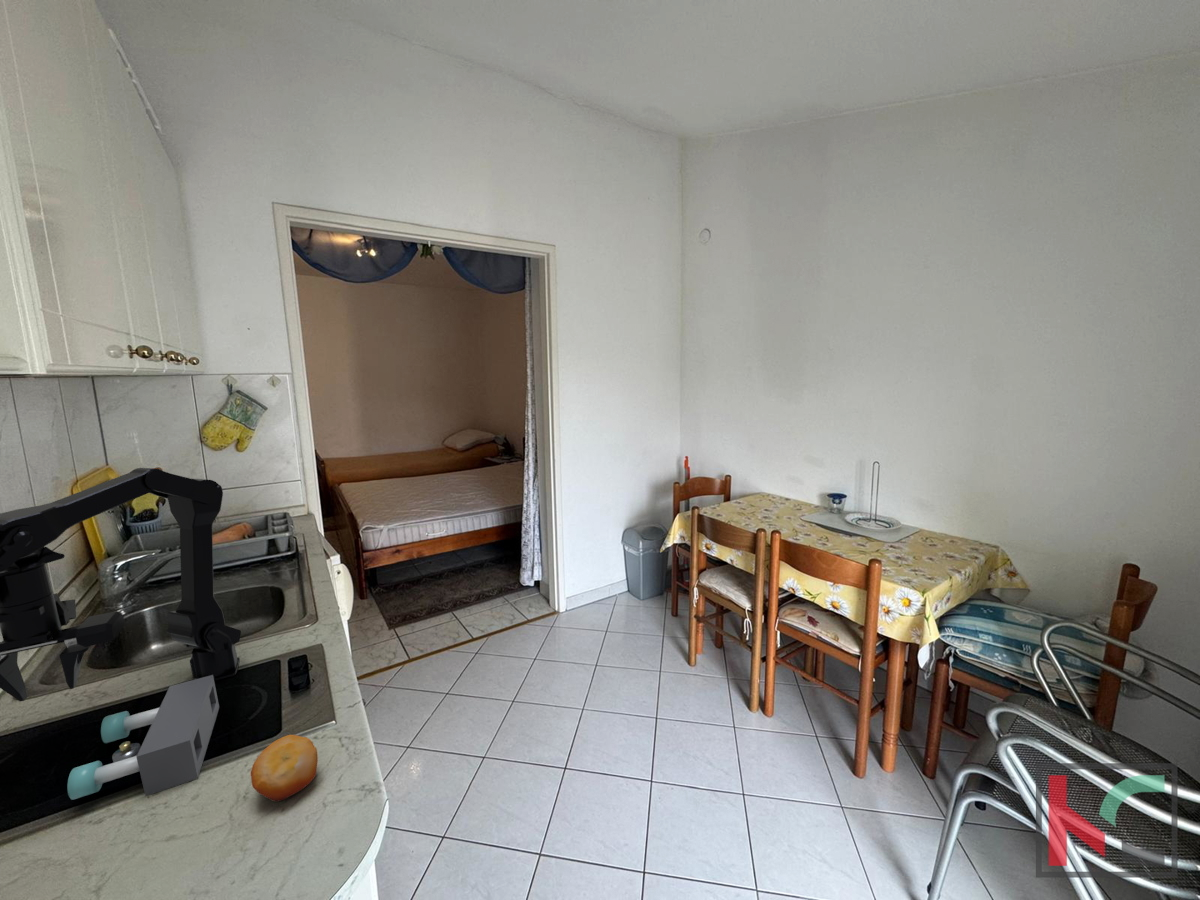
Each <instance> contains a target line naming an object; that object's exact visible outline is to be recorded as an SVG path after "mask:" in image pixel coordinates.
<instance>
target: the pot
mask: <svg viewBox="0 0 1200 900" xmlns="http://www.w3.org/2000/svg"><path fill="white" fill-rule="evenodd" d="M141 746H142V745H141V744H140V743H139V742H135V743H134V742H133V743H131V741H129V740H128V741H127V740H126V741H123V742H122V743H120V745H119V746H118V747H119V748H118V749H117V750H115V752H113V754H112V756H111V757H112V758H111V759H112V761H113V762H112V763H115V762H118V761H121V760H124V759H128V758H131V757H134V756H137V754H138V752H139V750H140V748H141Z"/></svg>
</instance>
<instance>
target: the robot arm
mask: <svg viewBox="0 0 1200 900" xmlns="http://www.w3.org/2000/svg"><path fill="white" fill-rule="evenodd" d="M148 494H150V495H153V496H156V497H160V498H163V499H166V500H167V502H168V505H169V506H168V507H169V510H170V513H171V514H172V516H173V519H175V521H176V522H177V524H178V526H179V540H180V541H179V544H180V545H179V548H180V550H179V552H180V585H181V586H180V590H181V591H180V592H181V594H180V596H181V598H180V603H179V604H178V606H177V608H176V610H172V611H168V612H167V614H166V617H167V622H168V625H167V630H166V632H165V633H167V634H170V637H171V639H172V640H173V641H175V642H177V643H178V644H182V645H183V646H184V647H185V648H188V649H189V648H192V651H191V656H190V659H189V664H190V665H189V666H190V670H191V674H192V675H191V676H192V679H193V680H195V679H199V678H203V677H206V676H210V675H213V677H214V682H215V681H219V680H222V679H226V678H229V677H230V678H231V677H234V676H236V674H237V672H238V667H239V666H240V665H239V663H240V660H241V658H240V657H238V654H237V650H236V645H235V644H237V643H239V642H240V640H241V635H242V631H241V630H240V629H237V628H235V627H231V626H228V625H226V621H225V617H224V613H223V609H222V608H221V607H220V605H219V603H218V602H217V600H216V598H215V595H214V591H215V590H214V554H213V553H214V550H213V549H214V548H213V547H214V546H213V543H214V542H213V524H214V523H215V521H216V519H217V517H218V515H219V513H220V512H221V508H222V502H223V496H224V492H223V487H222V485H221V484H219V483H218V482H217V481H215V480H213V479H203V478H190V477H186V476H183V475H177V474H175V473H174V474H173V473H170V472H167V471H164V470H162V469H160V468H156V467H155V468H154V467H153V468H152V467H138V468H135V469H133V470H131V471H130V472H128V473H125V474H122V475H120V476H117V477H115V478H112V479H109V480H106V481H105V482H102V483H100V484H96V485H95V486H94V485H93V486H92V487H88V488H86V489H83V490H80V491H77V492H75V493H73V494H71V495H67V496H65V497H63V498H60V499H57V500H55V501H52V502H49V503H44V504H41V505H36V506H34V505H33V506H29V507H24V508H18V509H13V510H10V511H5V512H2V513H1V512H0V632H1V637H2V641H0V689H1V690H3V692H5V693H7V694H8V695H10V696H11V697H13V698H14V699H16V700H18V701H19V702H24V701H25V700H26V699H27V697H28V692H27V688H26V684H25V681H24V678H23V676H22V673H21V670H20V668H19V664H18V656H19V655H18V654H19V653H20V652H25V651H29V650H33V649H38V648H42V647H48V646H52V645H56V644H61V643H64V644H65V648H64V649H63V650H62V651H61V653H60V654H59V660H60V664H61V667H62V672H63V675H64V678H65V682H66V685H67V686H68V688H69V690H72V689H74V688H75V687H77V683H78V680H79V675H80V670H81V666H82V661H83V658H84V656H85V652H87V651H89V650H90V648H91V647H92V646H96V645H101V644H105V643H109V642H111V641H113V640H115V639H116V637H118V635H119V633H120V632H121V631H122V630H123V628H124V627H125V625H126V621H125V617H124V614H122V613H121V612H119V611H118V610H114V611H110V612H105V613H100V614H95V615H90V616H89V615H88V617H87V618H86V619H85V620H83V622H82V623H81V624H80V625H77V626H72V627H68V628H63V627H64V626H67V625H68V624H70V623H71V622H70V621H71V620H76V619H77V605H76V598H75V599H67V600H60V596H59V595H58V593H54V592H53V588H52V584H51V580H50V576H49V573H48V572H49V571H48V568H47V564H49V563H52V562H57V561H59V560H63V559H64V558H65V554H64V553H61V552H57V551H54V550H52V549H51V548H49V547H48V546H47V545H49V544H50V543H53V542H55V541H56V540H57V539H59V538H60V537H61V536H62V535H63V534H64V533H65V532H66V531H67V530H69V529H71V527H74V526H75V525H77V524H79V523H82V522H84V521H87V520H88V519H91V518H94V517H95V516H98V515H101V514H104V512H107V511H110V510H112V509H114V508H117V507H119V506H121V505H124V504H125V503H126V504H127V503H128V502H129V503H130V502H131V501H133V500H135V499H137V498H140V497H142V496H145V495H148Z"/></svg>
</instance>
